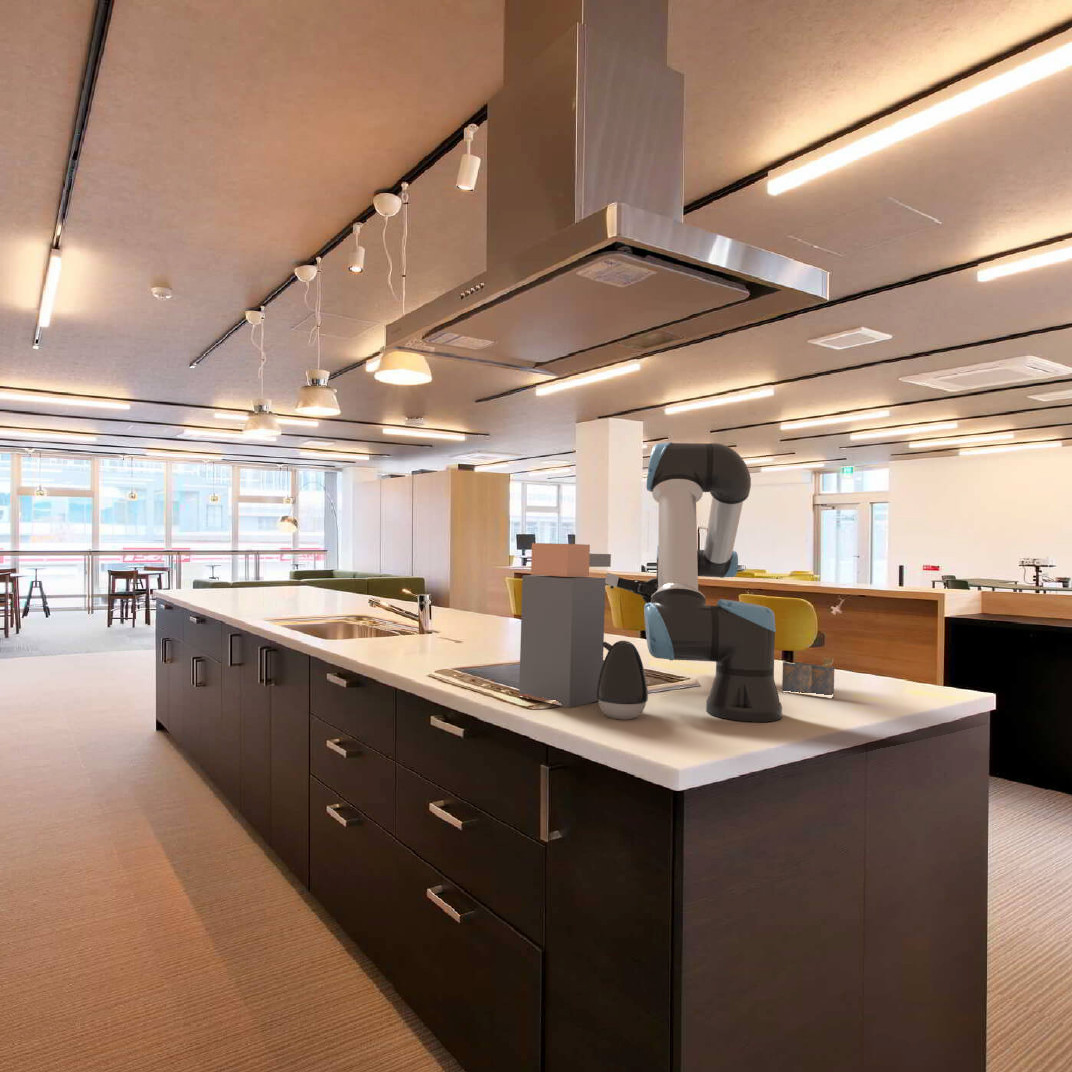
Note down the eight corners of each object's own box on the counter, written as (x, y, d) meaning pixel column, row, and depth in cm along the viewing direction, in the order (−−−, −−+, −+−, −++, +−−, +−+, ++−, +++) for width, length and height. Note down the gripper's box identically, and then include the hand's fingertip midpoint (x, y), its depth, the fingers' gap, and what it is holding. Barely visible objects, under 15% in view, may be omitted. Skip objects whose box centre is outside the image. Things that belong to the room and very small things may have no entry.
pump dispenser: (617, 708, 153) (619, 636, 153) (657, 717, 146) (659, 641, 146) (584, 715, 146) (587, 639, 146) (625, 725, 138) (627, 645, 139)
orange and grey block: (588, 574, 177) (588, 545, 177) (622, 575, 171) (623, 546, 171) (530, 574, 161) (531, 543, 161) (566, 576, 154) (567, 543, 154)
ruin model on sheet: (870, 698, 174) (871, 658, 175) (856, 709, 161) (857, 665, 161) (766, 685, 189) (767, 647, 189) (745, 694, 175) (745, 653, 175)
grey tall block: (552, 690, 170) (556, 575, 171) (602, 699, 161) (605, 578, 162) (518, 697, 161) (522, 575, 162) (569, 707, 152) (572, 578, 153)
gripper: (701, 617, 189) (678, 609, 170) (613, 597, 201) (583, 588, 182) (707, 589, 189) (685, 578, 171) (619, 571, 201) (590, 559, 183)
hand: (632, 583), depth 176 cm, fingers open, 13 cm apart
